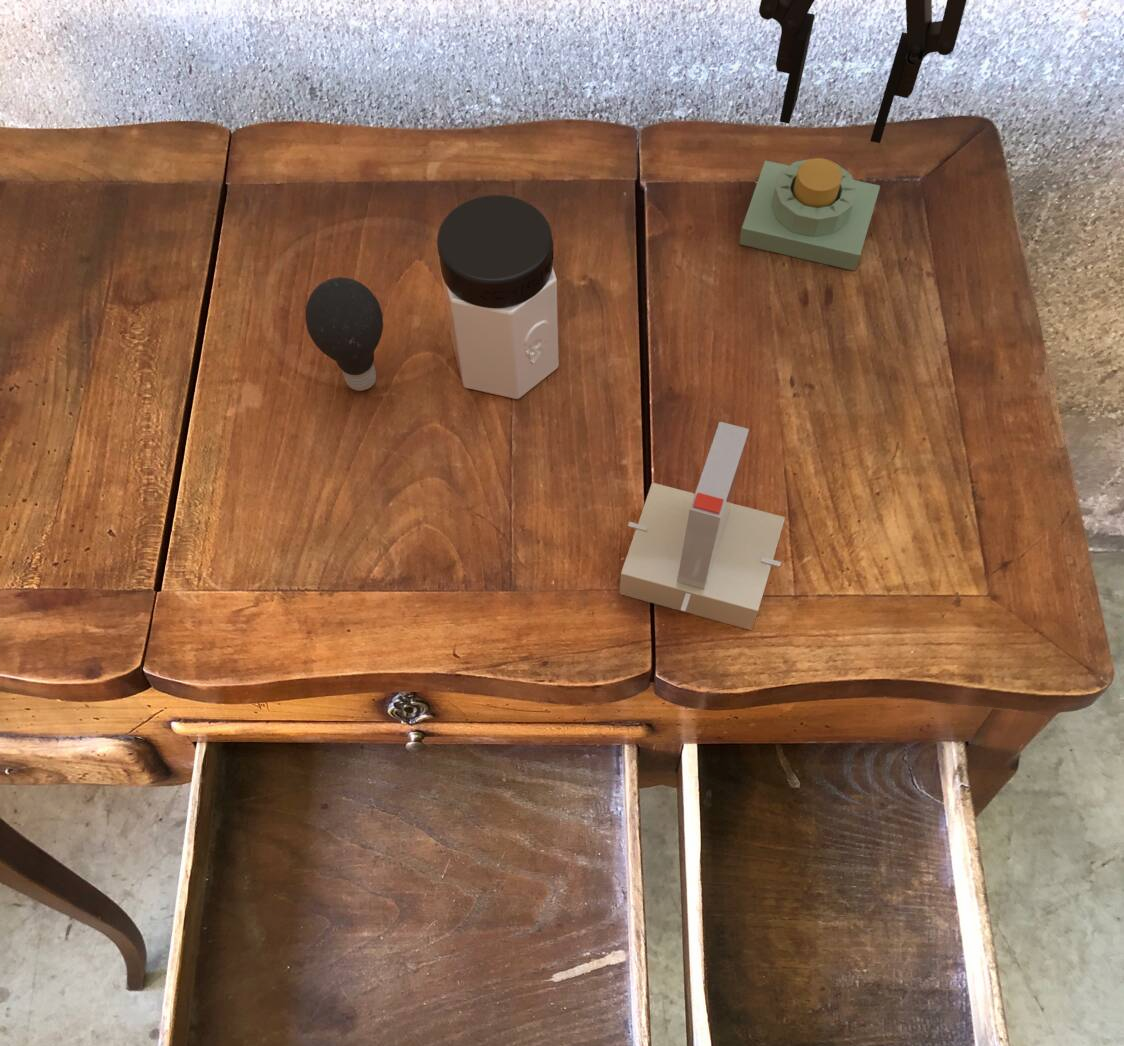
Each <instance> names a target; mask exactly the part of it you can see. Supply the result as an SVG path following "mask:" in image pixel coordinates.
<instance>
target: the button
mask: <svg viewBox="0 0 1124 1046" xmlns="http://www.w3.org/2000/svg"><path fill="white" fill-rule="evenodd" d="M809 159H810V160H808V159H806V160H807V161H805V162H804V163H802V164H801V166H800V167H799V169H798V171H797V176H796V180H795V185H794V190H793V192H794V196H795V198H796V199H797V200H798V201H799V202H800V203H802V204H803V205H805V206H810V207H814V208H821V207H827V206H829V205H831V204H832V203H833V202H834V201H835V199H836V197H837V194H838V191H839V187H840V183H841V180H842V173H841V170H840V168H839V167H838V166H837V165H838V164H837V163H836V164H837V165H836V164H835V162H834V161H832V160H830V159H826V158H822V157H813V158H809Z"/></svg>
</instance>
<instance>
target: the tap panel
mask: <svg viewBox="0 0 1124 1046" xmlns="http://www.w3.org/2000/svg"><path fill="white" fill-rule="evenodd" d="M694 495H695V492H692V491H691V492H690V491H686V490H683V489H679V488H676V487H671V486H668V485H664V484H660V483H656V482H651V484H650V487H649V489H648V492H647V496H646V498H645V502H644V505H643V507H642V510H641V514H640V516H639V519H638V521H637V523H636V522H633V521H628V525H627V527H628V528H631V529H635V530H634V533H633V537H632V539H631V542H630V545H629V547H628V551H627V554H626V556H625V560H624V563H623V566H622V569H621V571H620V579H619V591H618V593H619V595H622V596H625V597H629V598H633V599H636V600H640V601H642V602H647V603H649V604H650V603H651V604H655V605H658V606H661V607H665V608H668V609H671V610H676V611H680V612H683V613H687V614H691V615H693V616H698V617H702V618H704V619H708V620H712V621H716V622H718V623H719V622H720V623H724V624H727V625H730V626H734V627H737V628H741V629H746V630H748V631H752V630H753V628H754V625H755V623H756V619H757V616H758V613H759V610H760V607H761V603H762V601H763V600H762V599H763V596H764V593H765V589H766V586H767V582H768V579H769V576H770V573H771V569H772V566H774V567H777V568H781V565H782V561H779V560H775V559H774V558H775V555H776V551H777V548H778V544H779V542H780V538H781V534H782V530H783V527H784V524H785V520H786V517H785V516H783V515H782V516H781V515H779V514H774V513H770V512H767V511H764V510H760V509H755V508H752V507H747V506H744V505H740V504H737V503H733V502H732V503H731V508H730V511H729V514H728V517H727V520H726V523H725V526H724V529H723V533H722V536H721V539H720V542H719V545H718V548H717V551H716V554H715V557H714V560H713V564H712V567H711V570H710V573H709V576H708V579H707V582H706V585H705V588H704V589H702V588H698V587H695V586H691V585H688V584H684V583H680V582H677V578H678V572H679V567H680V561H681V555H682V550H683V544H684V538H685V533H686V527H687V522H688V516H689V510H690V507H691V504H692V501H693V498H694Z"/></svg>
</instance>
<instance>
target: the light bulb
mask: <svg viewBox="0 0 1124 1046" xmlns="http://www.w3.org/2000/svg"><path fill="white" fill-rule="evenodd" d="M304 319H305V325H306V329H307V332H308V333H307V334H308V335H309V336H310V339H311V340H312V342H313V344H314V345H315V346H316V348H318V350H319V351H321V352H322V353H323V354H324V355H326V356H327V357H328V358H330V359H332V360H333V361H335V363H336V365H337V366H338V368H339V369H340V370H341V371H342V375H343V378H344V381H345V383H346V384H347V386H348V387H349V388H350V389H352V390H354V391H366V390H368V389H370V388H371V387H372V386H373V385H374V384H375V383H376V381H377V375H376V373H377V371H376V368H375V364H374V362H375V361H374V360H375V351H376V349H377V347H378V345H379V343H380V341H381V339H382V335H383V330H384V315H383V312H382V308H381V305H380V302H379V301H378V298H377V297H376V296H375V295H374V293H373V292H372V291H371V290H370V289H369V288H368V287H367V286H366V285H365V284H363V283H362V282H360V281H357V280H355V279H353V278H350V277H349V278H348V277H340V276H339V277H333V278H329V279H327V280H325V281H323V282H321V283H320V284H318V285H317V287H316V288H315V289H313V291H312V292H311V294H310V295H309V298H308V300H307V303H306V306H305V318H304Z"/></svg>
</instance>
